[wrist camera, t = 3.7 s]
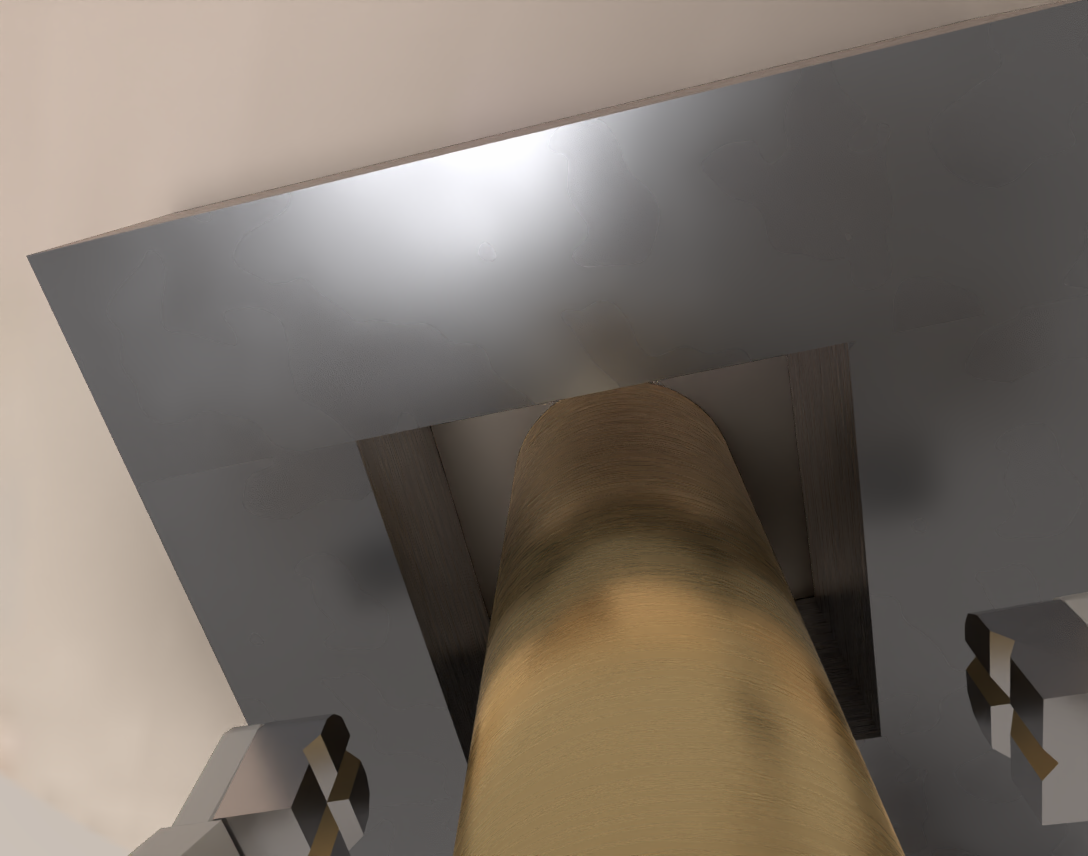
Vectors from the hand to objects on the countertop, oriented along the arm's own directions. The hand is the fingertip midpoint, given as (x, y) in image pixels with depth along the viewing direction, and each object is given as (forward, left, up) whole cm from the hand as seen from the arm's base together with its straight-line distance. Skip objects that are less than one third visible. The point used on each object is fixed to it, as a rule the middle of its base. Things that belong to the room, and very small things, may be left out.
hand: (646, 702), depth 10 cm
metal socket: (0, 0, -6) cm, 6 cm away
